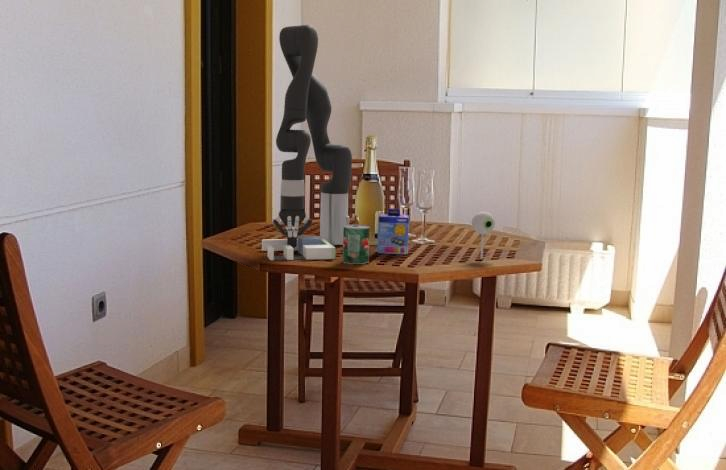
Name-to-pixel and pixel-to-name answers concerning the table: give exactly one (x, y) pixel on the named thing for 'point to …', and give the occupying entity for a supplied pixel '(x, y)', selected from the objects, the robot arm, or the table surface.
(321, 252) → the white open shelf
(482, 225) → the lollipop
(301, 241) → the block
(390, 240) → the ink cartridge box
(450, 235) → the table surface
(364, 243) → the canned tomato
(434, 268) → the table surface
